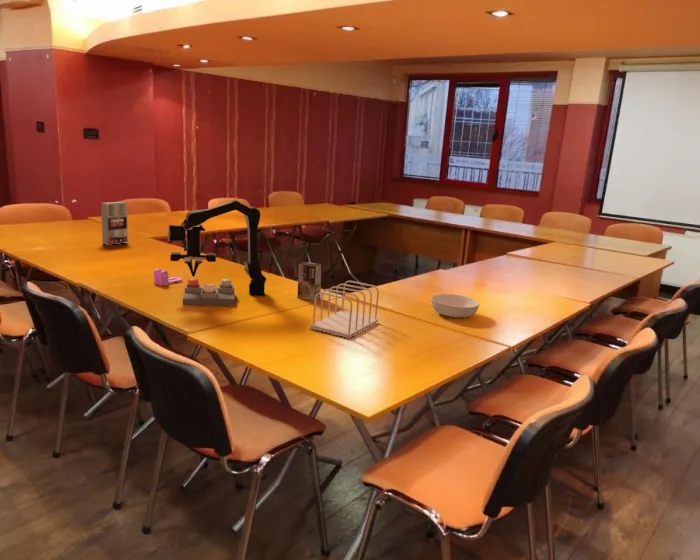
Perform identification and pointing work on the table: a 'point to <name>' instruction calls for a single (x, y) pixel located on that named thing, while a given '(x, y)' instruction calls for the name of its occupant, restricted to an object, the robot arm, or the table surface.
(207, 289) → the cream button
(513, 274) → the table surface
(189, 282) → the red button
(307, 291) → the coffee box
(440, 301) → the serving bowl
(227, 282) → the sage button
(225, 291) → the control panel
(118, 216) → the cassette tape recorder
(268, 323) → the table surface
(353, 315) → the file sorter
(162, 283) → the bracket
